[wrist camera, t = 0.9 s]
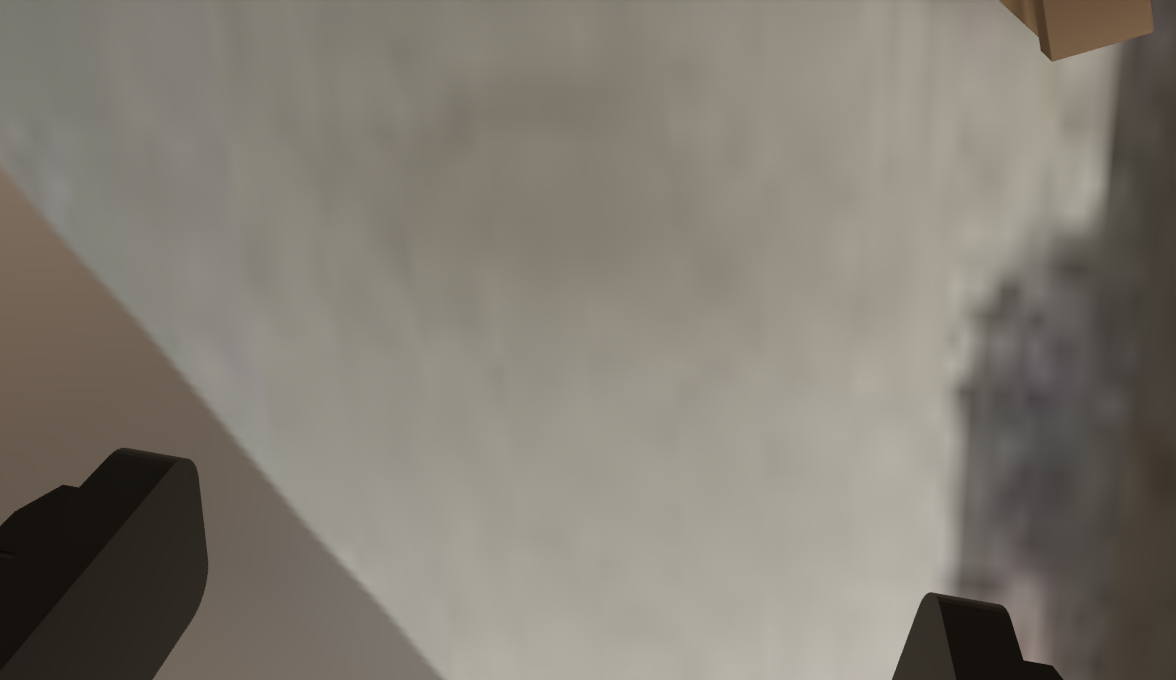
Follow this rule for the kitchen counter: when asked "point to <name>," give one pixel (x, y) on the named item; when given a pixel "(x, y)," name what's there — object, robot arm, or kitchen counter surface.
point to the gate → (1082, 23)
